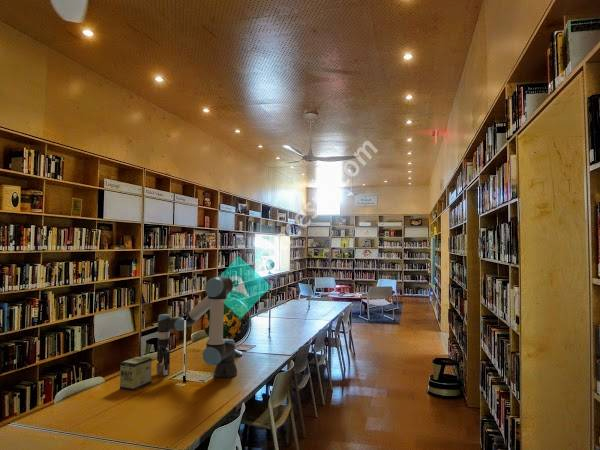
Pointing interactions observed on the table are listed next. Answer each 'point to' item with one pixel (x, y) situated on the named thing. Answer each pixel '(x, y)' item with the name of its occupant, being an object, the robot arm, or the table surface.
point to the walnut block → (161, 369)
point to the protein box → (135, 373)
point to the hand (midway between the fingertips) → (163, 373)
